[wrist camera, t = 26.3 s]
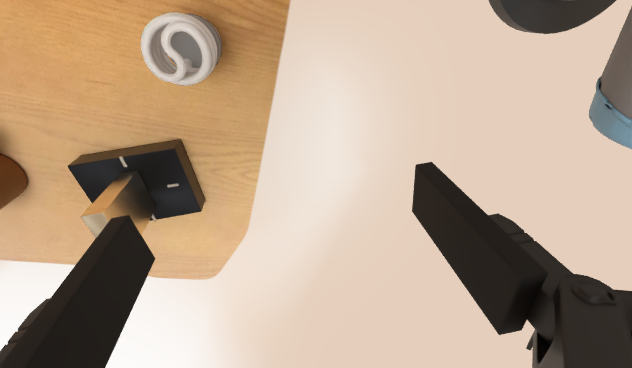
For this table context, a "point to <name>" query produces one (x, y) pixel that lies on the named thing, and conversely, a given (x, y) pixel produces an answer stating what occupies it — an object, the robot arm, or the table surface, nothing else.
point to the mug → (10, 181)
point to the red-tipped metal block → (121, 203)
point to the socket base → (145, 175)
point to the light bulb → (181, 47)
